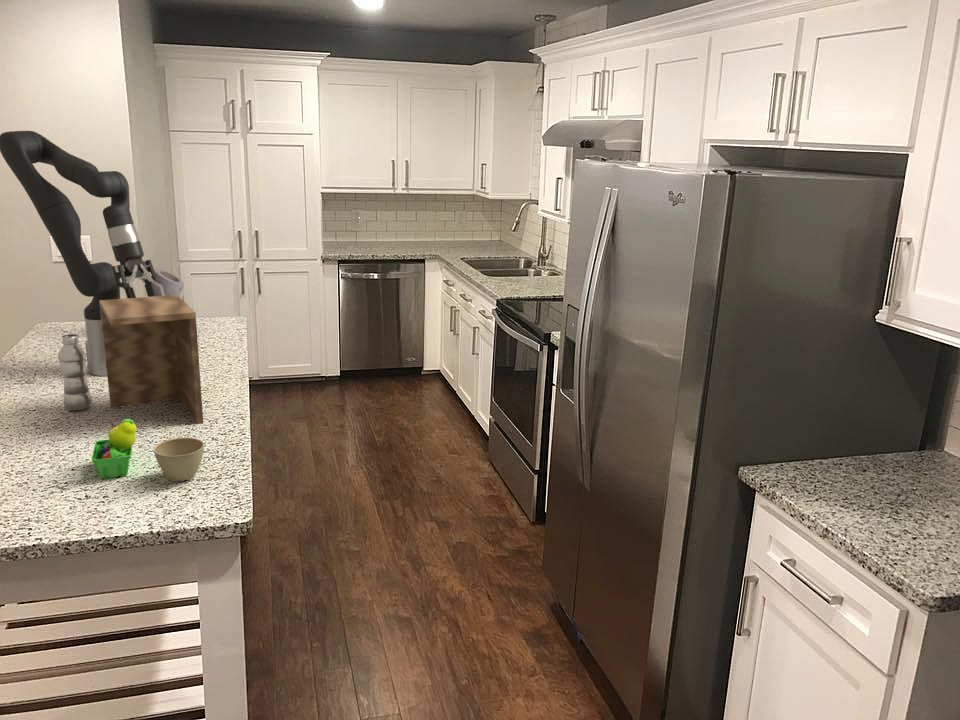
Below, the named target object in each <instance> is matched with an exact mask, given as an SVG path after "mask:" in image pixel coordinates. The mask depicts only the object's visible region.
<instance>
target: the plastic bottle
mask: <svg viewBox="0 0 960 720" xmlns="http://www.w3.org/2000/svg"><path fill="white" fill-rule="evenodd" d="M79 343H80V341H79V336H78V334H76V333H72V334H71V333H69V334H68V333H67V334H64V335H61V344H63V345H62V347H61V348H60V350H59V351H58V354H57V359H58V360H57V361H58V363H59V366H60V370H61V374H62V375H61V376H62V378H63V404H64V407H65V408H66V409H67V410H69V411H83V410H86V409H89V408H90V407H91V405H92V400H93V398H92V395H91V392H90V389H89V384H88V381H87V355H86V350H84V348H82V346H81V345H79Z"/></svg>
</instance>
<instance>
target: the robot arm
mask: <svg viewBox="0 0 960 720" xmlns="http://www.w3.org/2000/svg"><path fill="white" fill-rule="evenodd" d="M0 154H1V156H2V158H3V159H4V161H5V163H6V165H8V167H9V169H10V170H11V171H12V173H13V174H14V175H15V177H16V178H17V180H18V181H19V183H20V184H21V186H22V187H23V189H24V191H25V192H26V194H27V196H28V197H29V199H30V201H31V202H32V204H33V206H34V208H35V209H36V212H37V214H38V216H39V217H40V219H41V221H42V223H43V224H44V226H45V228H46V230H47V232H48V233H49V234H50V237H51V239H52V240H53V241H54V244H55V246H56V248H57V250H58V251H59V253H60V255H61V257H62V259H63V262H64V264H65V267H66V269H67V271H68V274H69V277H70V278H71V281H72V282H73V285H74V286H75V289H77V291H78V292H79V293H80V294H81V295H83V296H85V297H88V298H89V297H91V298H92V299H91V302H90V303H89V304H87V305H86V306H85V308H83V316H84V323H85V324H84V325H85V331H86V333H85V334H86V341H85V342H84V343H85V344H84V345H85V353H86V365H87V371H88V373H90V374H91V375H93V376H99V377H100V376H101V377H102V376H103V377H105V376H106V377H107V369H106V360H105V350H104V341H103V332H102V322H101V313H100V304H99V300H112V299H121V288H122V289H123V290H124V293H125V295H126V298H137V296H136V295H137V294H136V291H135V289H134V287H133V283H134V281H135V279H138V280H139V281H140V280H141V282H142V283H143V284H144V288H145V291H146V294H147V297H151V296H155V289H154V286H153V281H154V280H156V279H157V277H156V274H155V272H154V269H155V268H154V265H153V263H152V260H151V259H147V260H143V257H144V255H145V254H144V250H143V246H142V244H141V240H140V237H139V233H138V231H137V228H136V226H135V224H134V220H133V217H132V214H131V211H130V210H131V209H130V207H131V206H130V185H129V182H128V179H127V178H126V176H125V175H124V174H123V173H121V172H120V171H117V170H109V171H107V170H106V171H99V169H98V167H97V166H96V165H95V164H92V162H89V161H87V160H84V159H82V158H80V157H77V156H76V155H73V154H72V153H69V152H67V151H66V150H64V149H62V148H61V147H60V146H58V145H57V144H55V143H54V142H51V140H50V139H48V138H46V137H45V136H43V135H42V134H40V133H38V132H36V131H34V130H16V131H15V130H14V131H11V130H10V131H5V132H2V133H1V134H0ZM37 163H41V164H47V165H50V166H52V167H54V169H55V171H56V172H57V174H59V176H61V177H62V178H63V179H65V180H66V181H69V182H71V183H74V184H76V185H78V186H79V187H81V188H82V189H83V190H85V192H87V193H88V194H89V195H91V196H93V197H96V198H100V199H104V198H105V199H106V198H110V200H111V201H110V205H108V206H106V207H104V208H103V209H102V215H103V220H104V223H105V226H106V229H107V234H108V239H109V242H110V245H111V249H112V252H113V255H114V258H115V261H116V262H119V264H117V265H112V264H111V263H109V262H105V261H101V262H95V263H91V262H90V260H89V259H88V258H87V255H86V254H85V251H84V249H83V246H82V235H81V234H82V224H81V219H80V216H79V214H78V212H77V211H76V209H75V207H74V205H73V203H72V202H71V200H70V199H69V197H67V195H66V194H64V192H62V191H61V190H60V189H59V188H58V187H57V186H55V185H53V184H52V183H51V182H50V181H48V180H47V179H46V178H44V177H43V176H42V175H41V174H40V172H39V171H38V170H37V169H36V167H35V165H34V164H37Z"/></svg>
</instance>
